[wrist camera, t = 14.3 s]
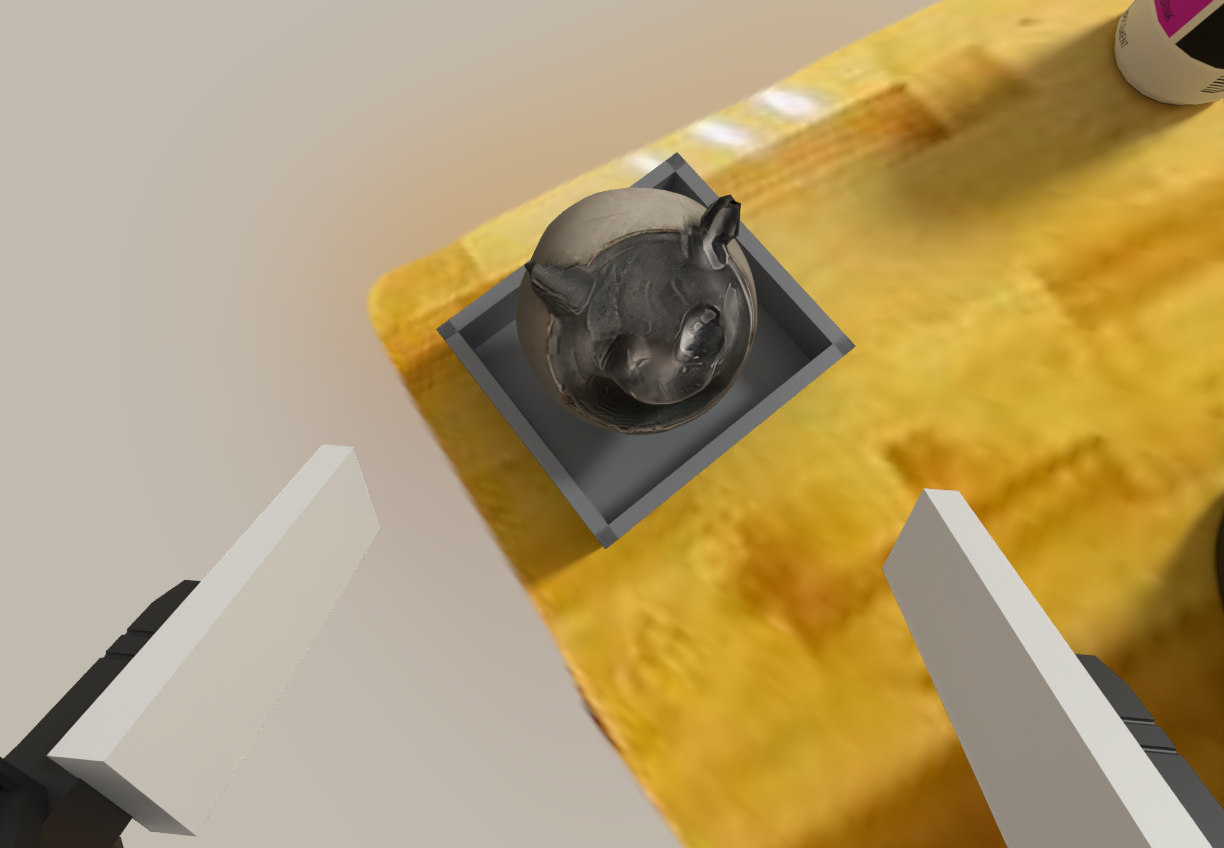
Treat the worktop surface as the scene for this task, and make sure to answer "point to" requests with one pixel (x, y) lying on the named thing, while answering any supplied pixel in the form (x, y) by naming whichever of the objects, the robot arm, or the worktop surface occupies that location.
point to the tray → (656, 463)
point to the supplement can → (1173, 49)
